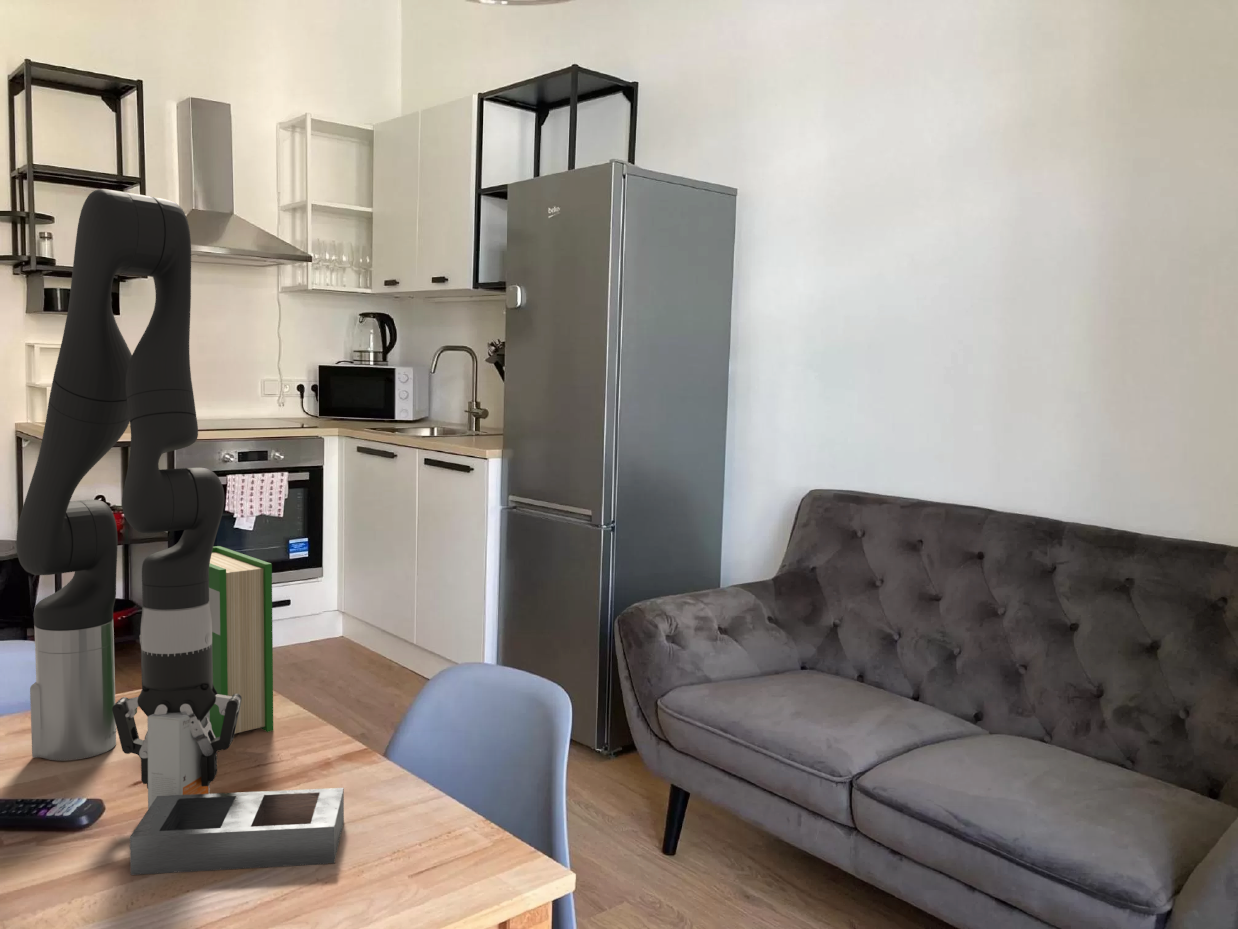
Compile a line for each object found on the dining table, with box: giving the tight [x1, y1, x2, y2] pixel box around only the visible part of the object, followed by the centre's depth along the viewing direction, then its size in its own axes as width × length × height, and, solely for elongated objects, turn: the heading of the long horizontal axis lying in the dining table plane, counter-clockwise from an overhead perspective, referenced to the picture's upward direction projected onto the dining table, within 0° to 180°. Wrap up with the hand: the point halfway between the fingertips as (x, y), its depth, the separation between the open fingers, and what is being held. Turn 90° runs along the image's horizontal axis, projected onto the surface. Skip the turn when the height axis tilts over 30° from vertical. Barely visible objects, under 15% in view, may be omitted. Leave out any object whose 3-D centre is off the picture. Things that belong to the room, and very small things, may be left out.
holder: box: [129, 787, 345, 876], centre depth 111 cm, size 20×10×4 cm, turn 99°
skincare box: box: [147, 710, 211, 810], centre depth 119 cm, size 6×4×12 cm
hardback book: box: [209, 545, 274, 738], centre depth 148 cm, size 18×7×24 cm, turn 44°
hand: (179, 784), depth 119 cm, fingers closed on skincare box, 5 cm apart
